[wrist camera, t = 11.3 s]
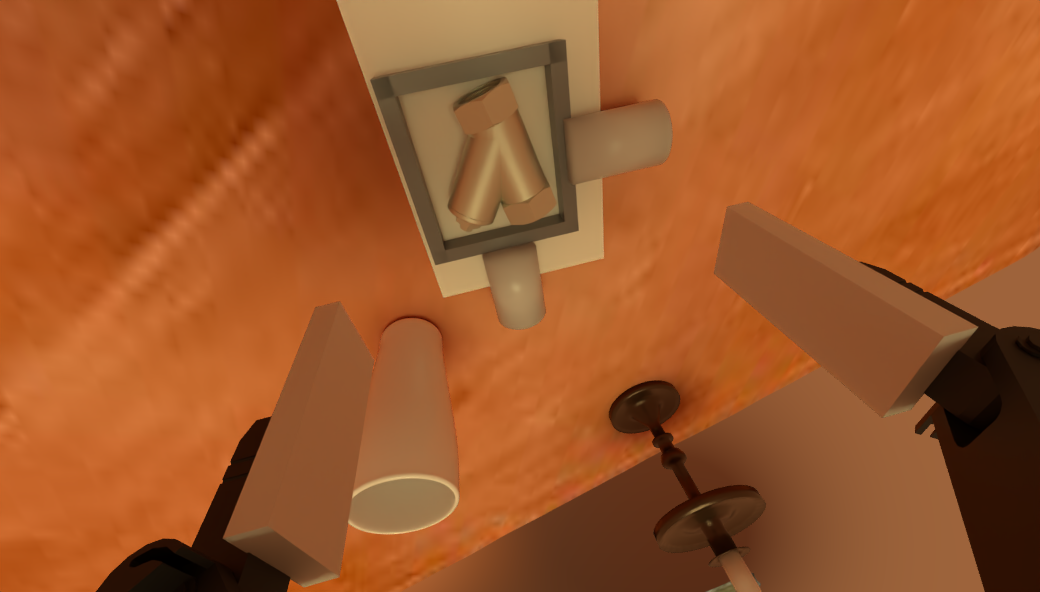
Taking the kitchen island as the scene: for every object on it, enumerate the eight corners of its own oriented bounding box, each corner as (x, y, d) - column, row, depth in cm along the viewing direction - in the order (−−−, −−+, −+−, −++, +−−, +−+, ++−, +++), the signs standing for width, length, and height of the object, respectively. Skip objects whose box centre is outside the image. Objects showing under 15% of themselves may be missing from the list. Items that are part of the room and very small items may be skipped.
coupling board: (335, -10, 19) (312, -20, 16) (643, -68, 20) (692, -91, 17) (449, 310, 33) (452, 347, 29) (632, 264, 34) (658, 294, 30)
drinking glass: (355, 333, 32) (310, 513, 20) (419, 294, 31) (412, 460, 19) (406, 374, 36) (394, 545, 24) (464, 341, 35) (482, 503, 23)
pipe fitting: (467, 227, 28) (549, 189, 27) (468, 253, 25) (561, 211, 24) (406, 124, 23) (503, 73, 22) (397, 141, 20) (509, 82, 19)
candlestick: (645, 437, 52) (900, 914, 24) (585, 424, 47) (814, 1000, 19) (699, 385, 47) (1094, 904, 19) (639, 366, 42) (1043, 1015, 14)
